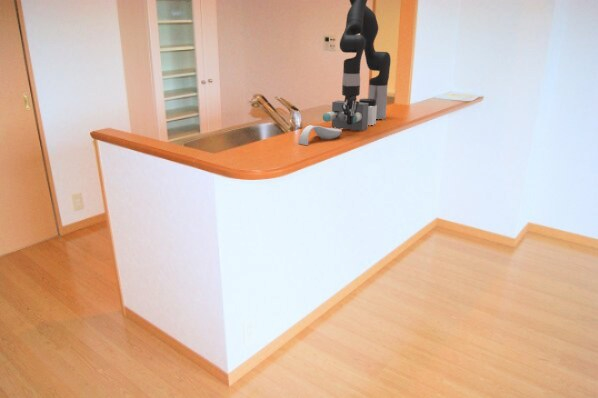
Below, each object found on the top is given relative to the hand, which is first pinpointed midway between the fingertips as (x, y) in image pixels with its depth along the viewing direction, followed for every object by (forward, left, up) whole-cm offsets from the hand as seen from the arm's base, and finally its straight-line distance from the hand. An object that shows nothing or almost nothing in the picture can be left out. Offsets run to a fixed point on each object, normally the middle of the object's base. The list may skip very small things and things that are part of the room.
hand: (349, 124), depth 212 cm
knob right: (-8, 0, 0) cm, 8 cm away
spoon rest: (+17, -5, -5) cm, 19 cm away
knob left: (-4, -11, 0) cm, 12 cm away
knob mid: (-8, -6, 0) cm, 10 cm away
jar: (-24, -3, -5) cm, 25 cm away
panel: (-11, -6, -4) cm, 13 cm away
